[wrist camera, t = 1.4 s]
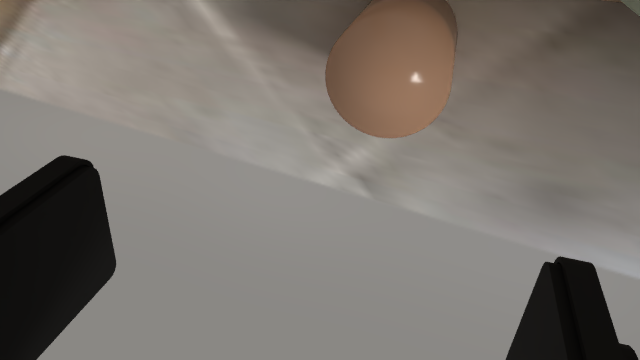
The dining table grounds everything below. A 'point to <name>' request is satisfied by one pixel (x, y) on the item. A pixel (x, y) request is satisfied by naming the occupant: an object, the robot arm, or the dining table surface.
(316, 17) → the dining table surface
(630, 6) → the pale green block
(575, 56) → the dining table surface
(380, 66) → the tan rounded capsule
